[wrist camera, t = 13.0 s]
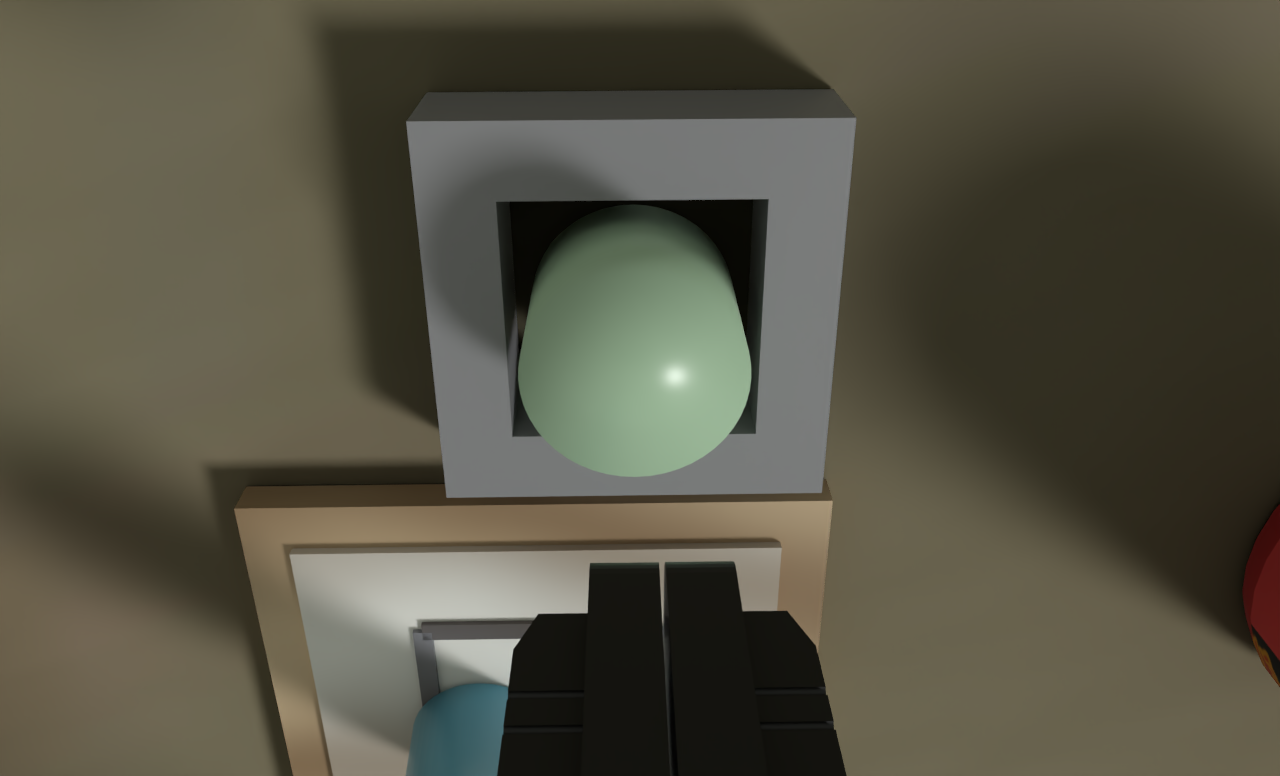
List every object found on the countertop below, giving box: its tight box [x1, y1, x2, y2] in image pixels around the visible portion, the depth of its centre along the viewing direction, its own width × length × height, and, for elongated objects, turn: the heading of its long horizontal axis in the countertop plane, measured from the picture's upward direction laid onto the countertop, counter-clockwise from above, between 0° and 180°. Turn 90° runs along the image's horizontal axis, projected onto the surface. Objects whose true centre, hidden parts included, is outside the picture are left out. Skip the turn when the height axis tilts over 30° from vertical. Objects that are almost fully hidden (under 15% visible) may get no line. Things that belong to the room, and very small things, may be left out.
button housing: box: [406, 89, 856, 498], centre depth 19 cm, size 7×7×2 cm
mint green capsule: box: [518, 205, 751, 477], centre depth 18 cm, size 4×4×3 cm
